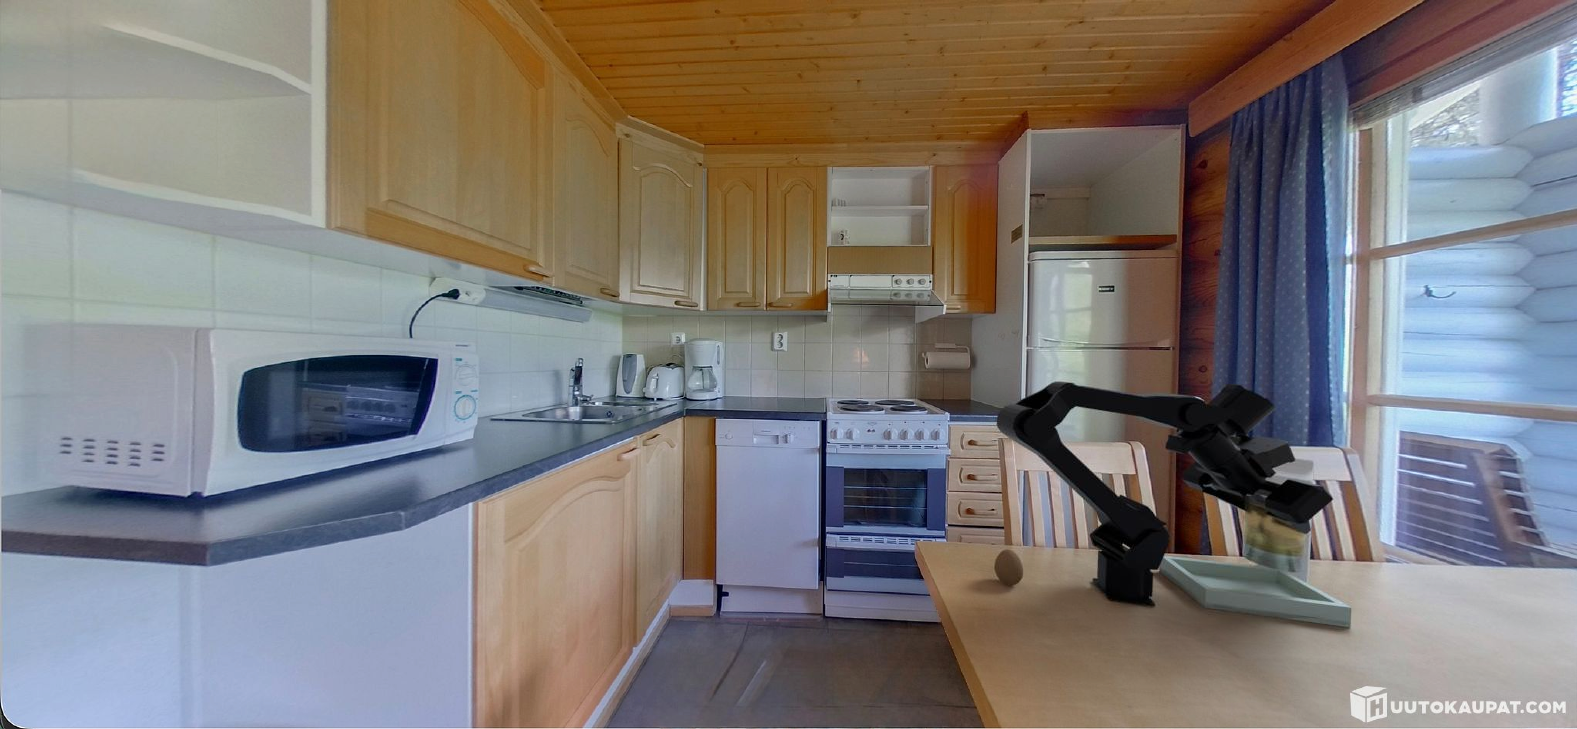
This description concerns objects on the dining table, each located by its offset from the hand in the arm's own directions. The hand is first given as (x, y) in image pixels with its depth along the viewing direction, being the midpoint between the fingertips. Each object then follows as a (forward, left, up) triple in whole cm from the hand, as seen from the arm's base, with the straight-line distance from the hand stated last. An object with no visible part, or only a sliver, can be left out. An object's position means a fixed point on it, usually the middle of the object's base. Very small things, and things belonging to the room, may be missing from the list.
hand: (1282, 522), depth 70 cm
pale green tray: (-5, 0, -13) cm, 14 cm away
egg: (-43, -7, -13) cm, 45 cm away
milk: (+8, +11, -13) cm, 19 cm away
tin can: (-1, 0, -7) cm, 7 cm away
